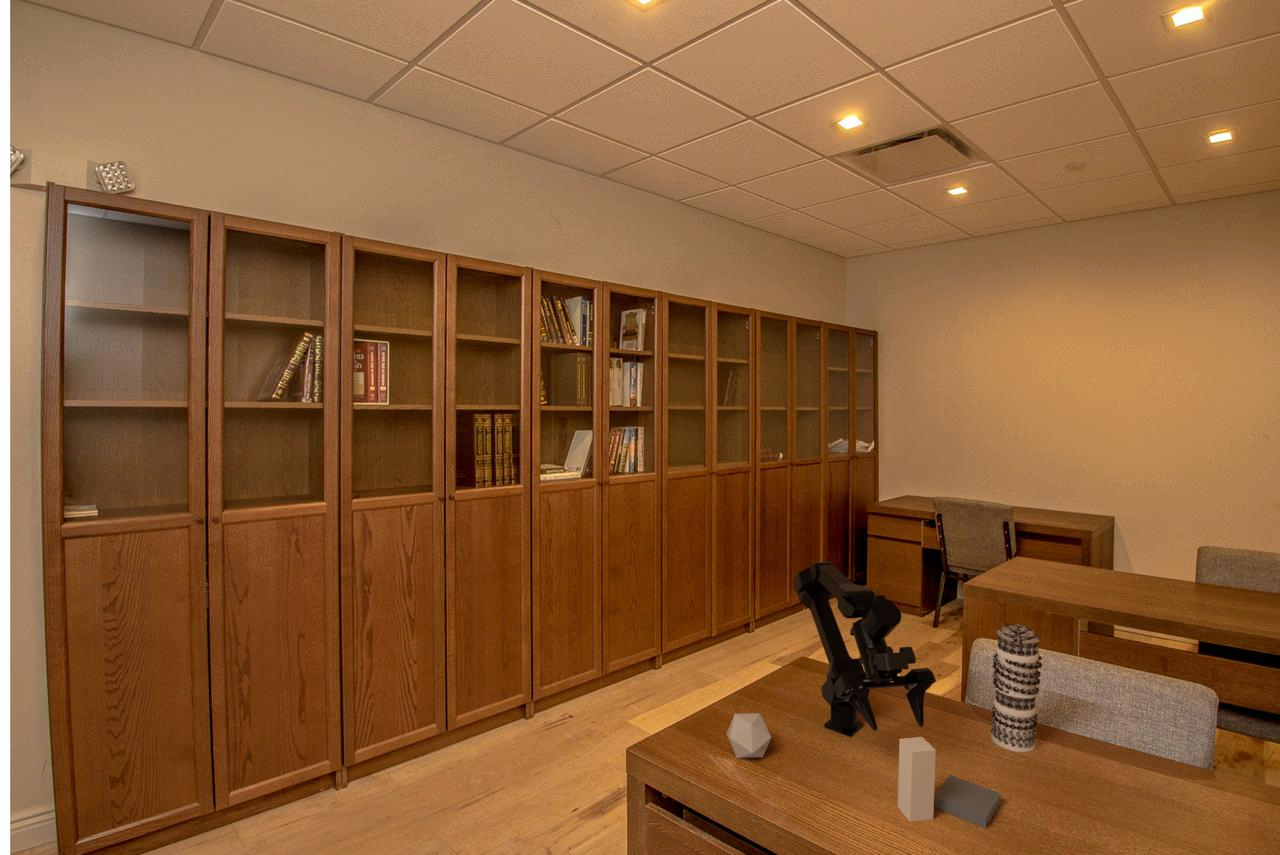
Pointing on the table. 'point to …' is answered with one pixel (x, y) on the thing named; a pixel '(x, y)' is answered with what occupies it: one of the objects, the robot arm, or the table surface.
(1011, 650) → the decorative candle
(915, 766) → the tall white pillar block
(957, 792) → the plate
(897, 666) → the robot arm
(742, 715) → the die
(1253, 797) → the table surface
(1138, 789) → the table surface
